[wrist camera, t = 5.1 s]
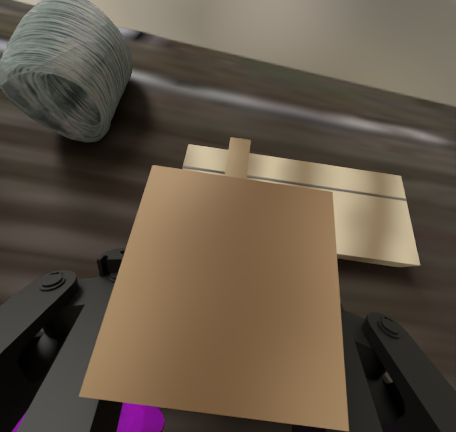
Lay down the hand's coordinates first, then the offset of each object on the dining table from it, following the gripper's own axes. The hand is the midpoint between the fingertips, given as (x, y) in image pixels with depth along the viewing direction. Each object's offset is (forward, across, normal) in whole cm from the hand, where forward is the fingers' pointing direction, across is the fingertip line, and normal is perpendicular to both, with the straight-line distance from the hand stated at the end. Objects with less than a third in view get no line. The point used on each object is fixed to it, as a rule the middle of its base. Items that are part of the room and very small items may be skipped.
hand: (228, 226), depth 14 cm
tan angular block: (+3, 0, -3) cm, 4 cm away
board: (+6, +6, 0) cm, 9 cm away
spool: (+13, -17, +6) cm, 22 cm away
